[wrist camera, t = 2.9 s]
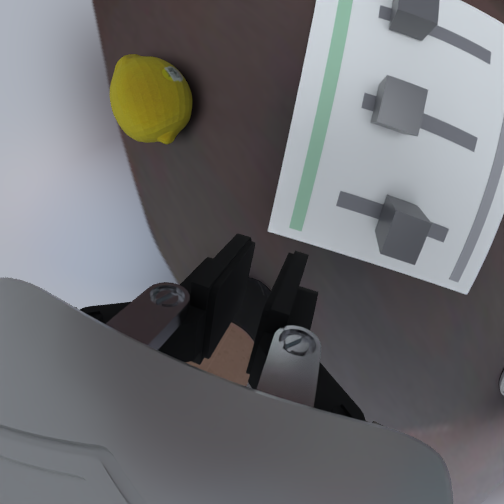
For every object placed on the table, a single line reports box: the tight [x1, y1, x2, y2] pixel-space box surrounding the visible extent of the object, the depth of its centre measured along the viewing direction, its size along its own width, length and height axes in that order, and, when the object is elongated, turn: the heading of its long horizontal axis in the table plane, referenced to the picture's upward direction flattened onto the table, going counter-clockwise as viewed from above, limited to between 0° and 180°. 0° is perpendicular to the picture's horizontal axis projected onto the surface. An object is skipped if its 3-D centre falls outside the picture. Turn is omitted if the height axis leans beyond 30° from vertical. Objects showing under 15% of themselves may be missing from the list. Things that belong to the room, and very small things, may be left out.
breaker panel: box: [268, 0, 504, 295], centre depth 21 cm, size 22×28×3 cm
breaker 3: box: [375, 195, 432, 265], centre depth 22 cm, size 3×4×5 cm
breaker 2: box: [370, 75, 428, 136], centre depth 18 cm, size 3×4×5 cm
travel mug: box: [186, 278, 271, 386], centre depth 28 cm, size 8×8×20 cm
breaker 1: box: [389, 0, 440, 41], centre depth 14 cm, size 3×4×5 cm
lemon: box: [110, 54, 192, 144], centre depth 25 cm, size 11×8×8 cm
